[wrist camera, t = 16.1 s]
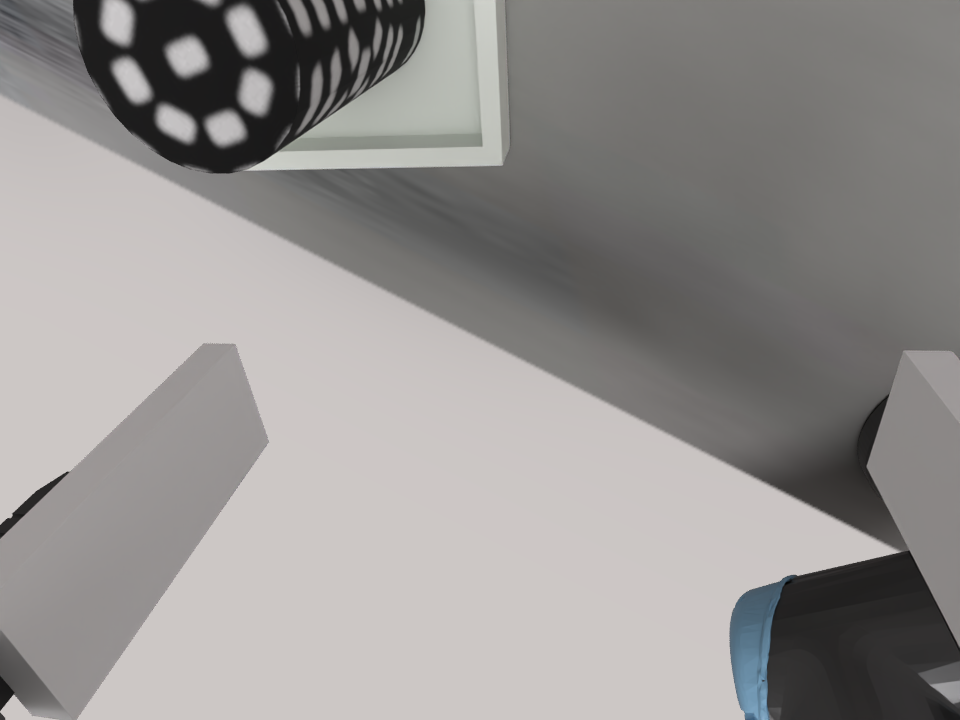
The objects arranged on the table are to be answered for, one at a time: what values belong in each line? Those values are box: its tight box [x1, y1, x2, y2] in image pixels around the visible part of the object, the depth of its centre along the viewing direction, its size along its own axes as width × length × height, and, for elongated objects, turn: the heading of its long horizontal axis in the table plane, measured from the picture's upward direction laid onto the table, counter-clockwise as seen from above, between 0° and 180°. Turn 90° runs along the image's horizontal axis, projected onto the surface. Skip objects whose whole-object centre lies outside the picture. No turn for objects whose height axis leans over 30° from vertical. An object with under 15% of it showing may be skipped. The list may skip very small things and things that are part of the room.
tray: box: [243, 0, 510, 171], centre depth 38 cm, size 18×18×4 cm
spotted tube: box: [73, 0, 425, 173], centre depth 30 cm, size 8×8×20 cm
